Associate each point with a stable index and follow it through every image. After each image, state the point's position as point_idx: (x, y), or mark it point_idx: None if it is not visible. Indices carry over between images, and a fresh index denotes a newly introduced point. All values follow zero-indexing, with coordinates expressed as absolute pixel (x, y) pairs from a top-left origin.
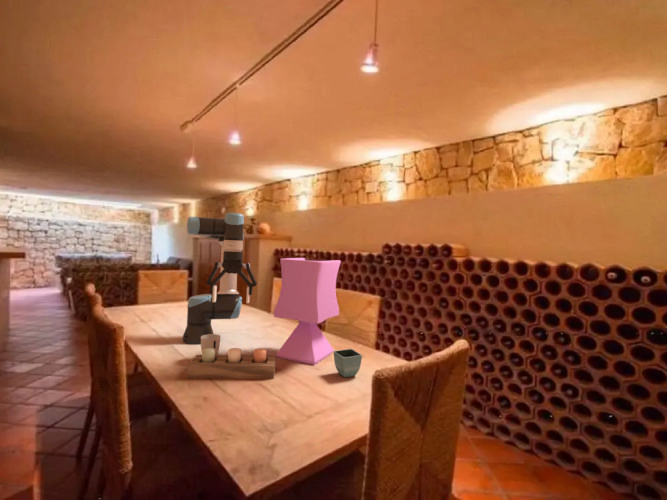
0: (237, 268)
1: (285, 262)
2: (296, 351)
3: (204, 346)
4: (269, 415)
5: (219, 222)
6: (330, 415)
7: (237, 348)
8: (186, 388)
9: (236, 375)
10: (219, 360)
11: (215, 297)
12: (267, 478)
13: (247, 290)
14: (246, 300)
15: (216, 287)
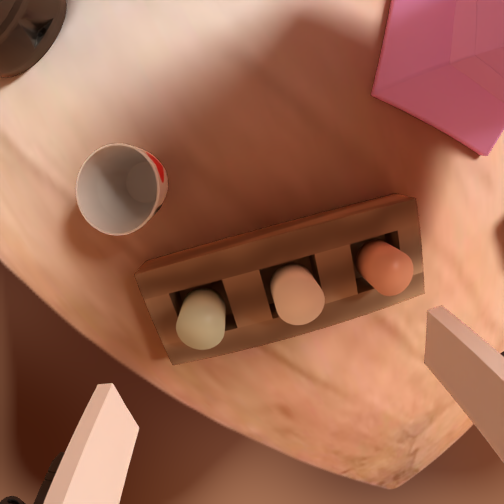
0: None
1: None
2: (451, 115)
3: (123, 225)
4: (410, 412)
5: None
6: None
7: (303, 282)
8: (216, 388)
9: None
10: (244, 306)
11: (114, 431)
12: (409, 477)
13: (493, 438)
14: (437, 378)
15: (71, 499)
